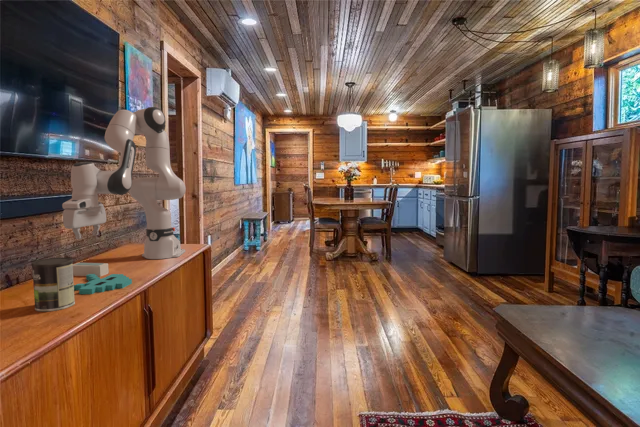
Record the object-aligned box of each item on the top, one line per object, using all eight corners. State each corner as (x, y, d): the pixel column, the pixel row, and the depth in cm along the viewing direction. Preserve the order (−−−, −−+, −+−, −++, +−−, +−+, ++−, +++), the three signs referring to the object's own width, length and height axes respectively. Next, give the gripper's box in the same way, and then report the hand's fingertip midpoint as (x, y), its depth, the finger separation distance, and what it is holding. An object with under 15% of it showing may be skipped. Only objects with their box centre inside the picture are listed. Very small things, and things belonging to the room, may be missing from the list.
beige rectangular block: (70, 276, 154) (69, 264, 153) (79, 273, 159) (78, 262, 158) (100, 277, 152) (99, 265, 152) (108, 273, 157) (108, 262, 157)
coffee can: (38, 314, 110) (34, 266, 109) (32, 306, 117) (28, 260, 116) (79, 306, 117) (76, 260, 116) (71, 298, 125) (68, 255, 123)
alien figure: (53, 295, 130) (111, 295, 129) (52, 288, 129) (111, 289, 129) (89, 279, 149) (140, 279, 149) (89, 273, 149) (140, 274, 149)
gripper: (95, 201, 163) (97, 233, 165) (58, 204, 143) (60, 241, 144) (109, 201, 163) (111, 233, 164) (74, 204, 143) (76, 241, 144)
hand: (87, 237), depth 154 cm, fingers open, 8 cm apart
